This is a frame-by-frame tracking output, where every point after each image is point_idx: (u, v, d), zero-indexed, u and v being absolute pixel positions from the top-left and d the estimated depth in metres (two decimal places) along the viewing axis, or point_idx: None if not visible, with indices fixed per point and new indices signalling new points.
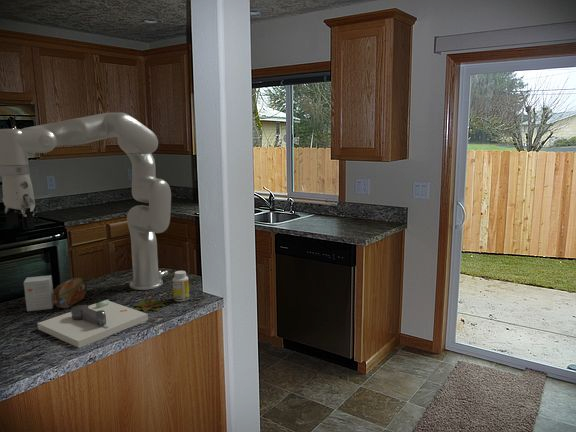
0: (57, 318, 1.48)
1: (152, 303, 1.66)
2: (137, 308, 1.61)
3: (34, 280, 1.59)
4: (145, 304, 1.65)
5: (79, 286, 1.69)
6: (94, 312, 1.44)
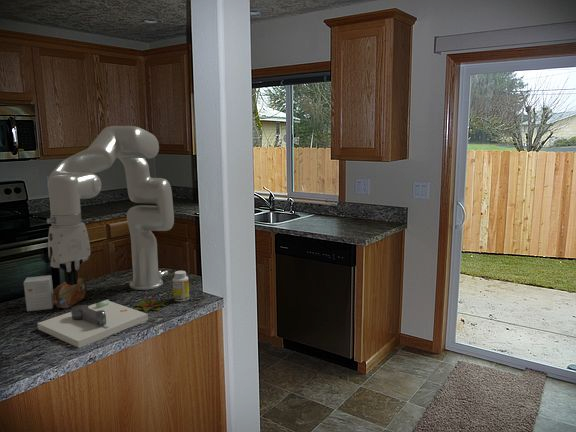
0: (57, 318, 1.48)
1: (152, 303, 1.66)
2: (137, 308, 1.61)
3: (34, 280, 1.59)
4: (145, 304, 1.65)
5: (79, 286, 1.69)
6: (94, 312, 1.44)
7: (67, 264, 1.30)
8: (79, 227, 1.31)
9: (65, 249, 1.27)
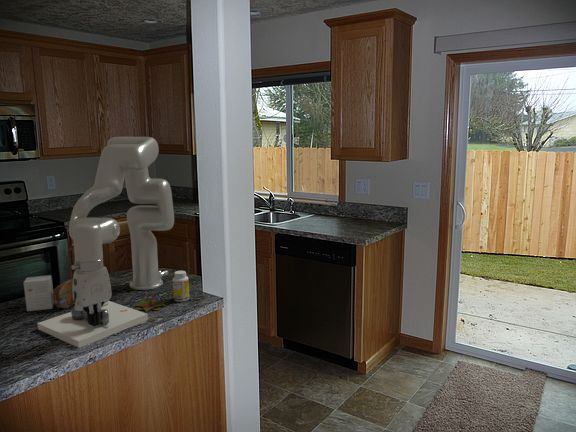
0: (57, 318, 1.48)
1: (153, 303, 1.66)
2: (138, 308, 1.61)
3: (34, 280, 1.59)
4: (146, 304, 1.65)
5: None
6: None
7: (90, 307, 1.37)
8: (102, 271, 1.38)
9: (88, 293, 1.35)
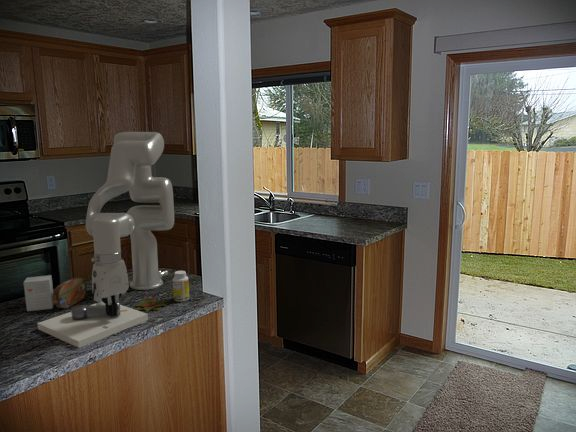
0: (57, 318, 1.48)
1: (153, 303, 1.66)
2: (138, 308, 1.61)
3: (34, 280, 1.59)
4: (146, 304, 1.65)
5: (79, 286, 1.69)
6: None
7: (108, 298, 1.43)
8: (120, 264, 1.44)
9: (107, 285, 1.41)
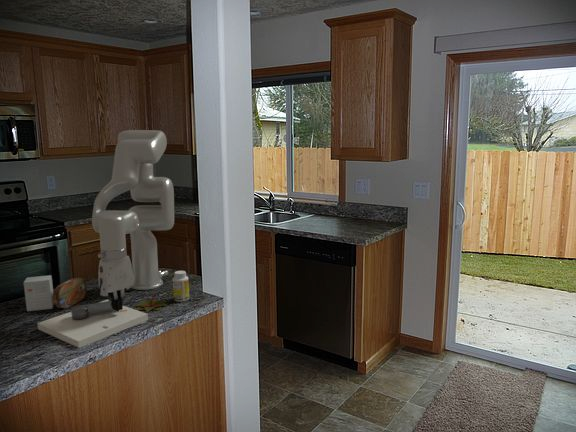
0: (57, 318, 1.48)
1: (153, 303, 1.66)
2: (139, 308, 1.61)
3: (34, 280, 1.59)
4: (146, 304, 1.65)
5: (79, 286, 1.69)
6: (105, 302, 1.52)
7: (114, 292, 1.48)
8: (125, 260, 1.49)
9: (113, 280, 1.46)
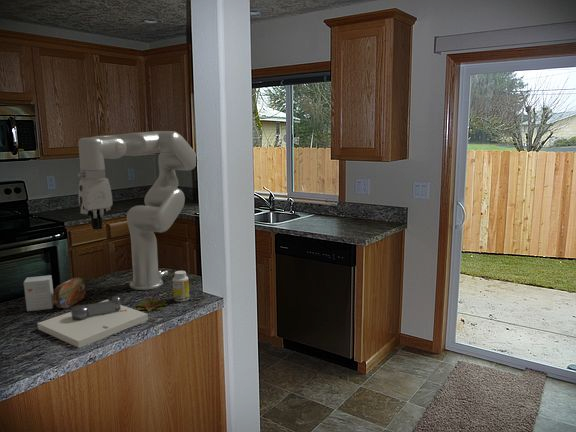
0: (57, 318, 1.48)
1: (154, 303, 1.66)
2: (140, 308, 1.61)
3: (34, 280, 1.59)
4: (147, 304, 1.65)
5: (79, 286, 1.69)
6: (105, 302, 1.52)
7: (94, 211, 1.57)
8: (104, 181, 1.58)
9: (92, 198, 1.55)
